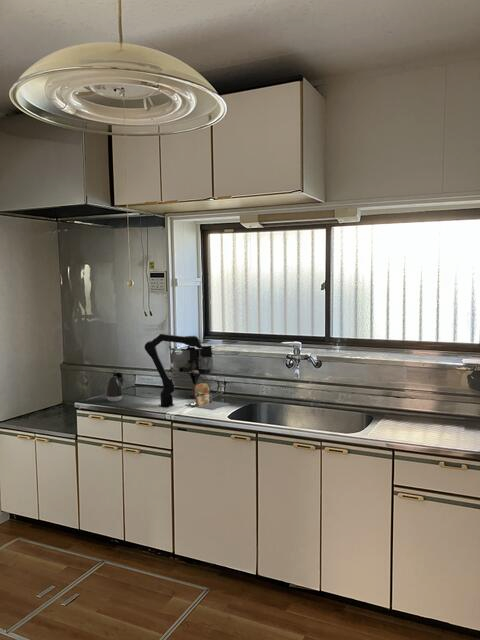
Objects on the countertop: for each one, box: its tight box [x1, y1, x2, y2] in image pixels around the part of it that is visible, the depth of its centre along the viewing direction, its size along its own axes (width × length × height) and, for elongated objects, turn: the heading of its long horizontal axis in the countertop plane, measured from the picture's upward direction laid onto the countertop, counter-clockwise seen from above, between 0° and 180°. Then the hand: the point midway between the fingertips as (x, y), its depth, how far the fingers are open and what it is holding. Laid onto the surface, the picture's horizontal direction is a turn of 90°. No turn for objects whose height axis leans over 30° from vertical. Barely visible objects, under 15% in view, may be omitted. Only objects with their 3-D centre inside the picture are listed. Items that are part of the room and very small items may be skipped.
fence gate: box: [195, 394, 210, 406], centre depth 319 cm, size 11×2×5 cm, turn 144°
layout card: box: [186, 400, 230, 411], centre depth 320 cm, size 20×16×1 cm
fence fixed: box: [197, 392, 213, 403], centre depth 327 cm, size 10×2×5 cm, turn 56°
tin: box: [191, 382, 211, 399], centre depth 343 cm, size 15×3×8 cm, turn 143°
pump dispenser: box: [105, 375, 124, 403], centre depth 334 cm, size 10×10×15 cm
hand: (194, 384), depth 320 cm, fingers closed
